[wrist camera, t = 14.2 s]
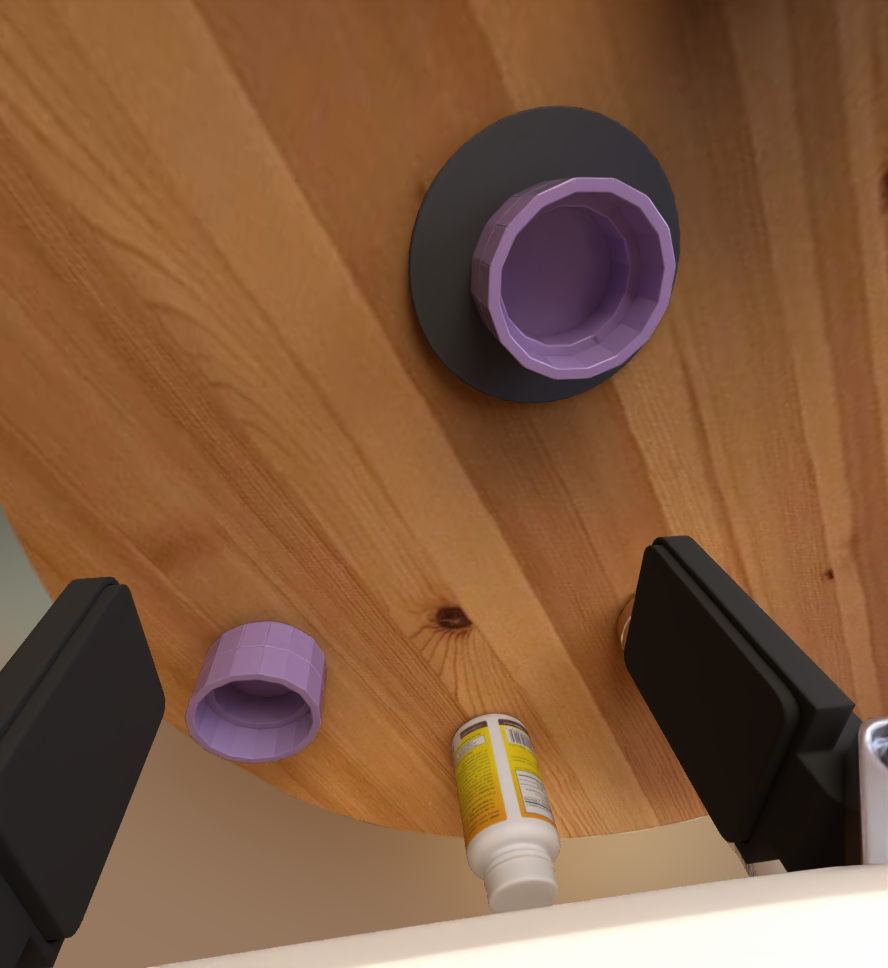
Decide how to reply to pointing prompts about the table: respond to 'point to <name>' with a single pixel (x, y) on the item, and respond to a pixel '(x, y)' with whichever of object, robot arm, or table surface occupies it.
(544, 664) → the table surface
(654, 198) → the coaster
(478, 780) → the supplement bottle
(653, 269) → the dish
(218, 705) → the dish
